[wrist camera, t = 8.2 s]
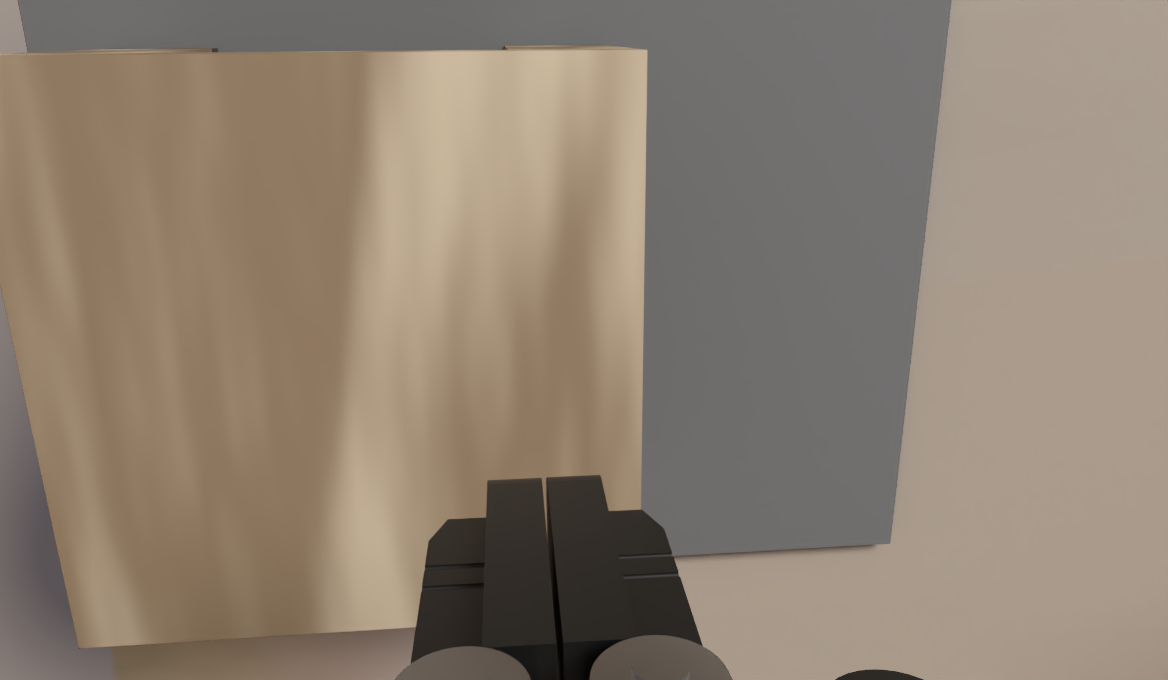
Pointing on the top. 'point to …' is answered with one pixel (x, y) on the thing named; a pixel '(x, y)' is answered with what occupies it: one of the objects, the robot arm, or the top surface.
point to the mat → (706, 223)
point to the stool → (313, 315)
